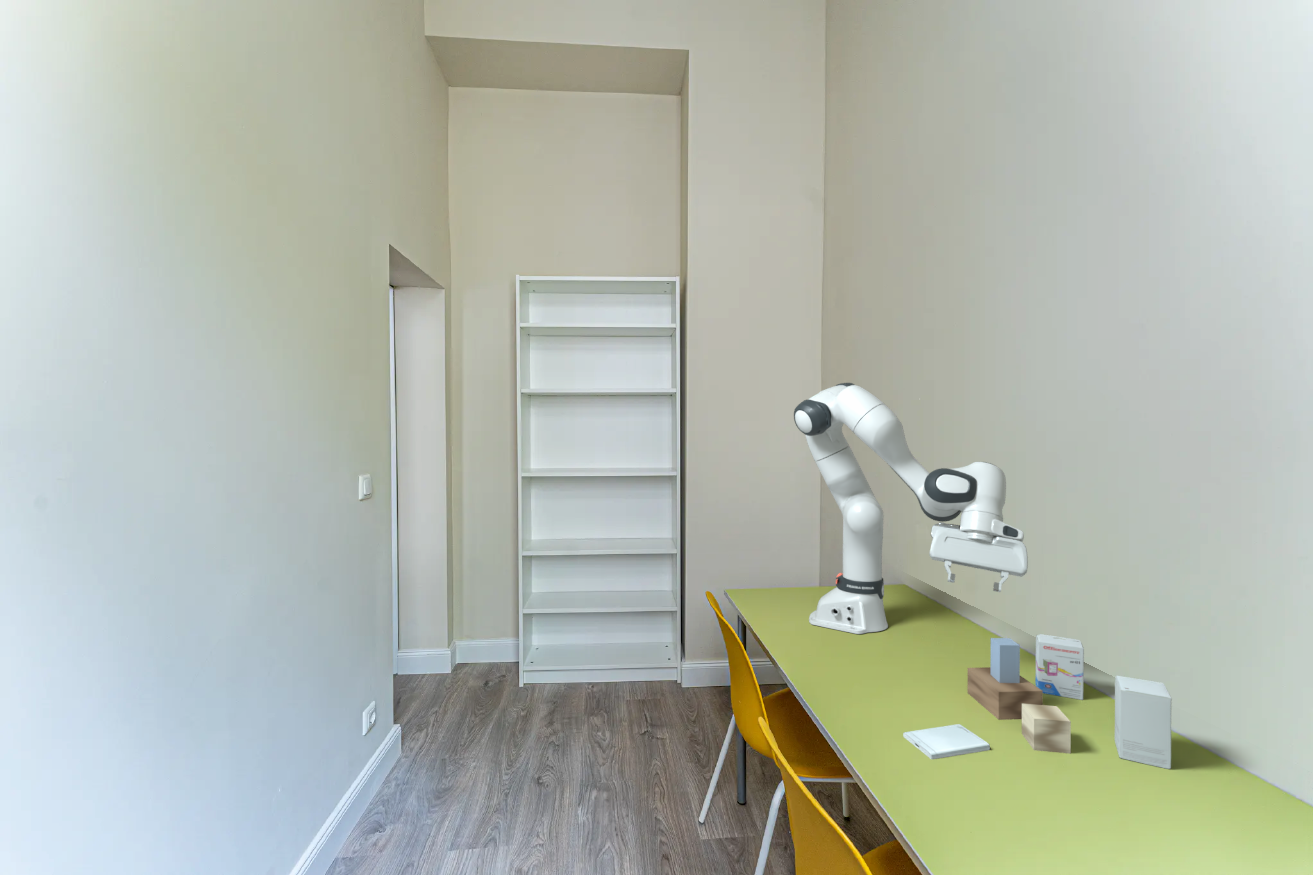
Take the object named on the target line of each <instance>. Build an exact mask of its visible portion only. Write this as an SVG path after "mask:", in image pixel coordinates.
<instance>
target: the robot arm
mask: <svg viewBox="0 0 1313 875" xmlns="http://www.w3.org/2000/svg"><path fill="white" fill-rule="evenodd" d="M793 420H794V423H795V426H796V427H797V429H798V430H799V431H800V432H801V433H803V435H804V436H805V437H804V438H805V441H806V444H807V446H808V449H809V452H810V454H811V456H812V459H813V461H814V463H815V464H816V467H817V468H818V471H819V472H820V474H821V477H822V478H823V480H824V483H825V484H826V486H827V489H828V490H829V491H830V494H831V495H832V497H833V499H834V501H835V503H836V505H837V506H838V509H839V510H840V512H841V515H842V520H843V521H842V523H843V524H842V572H839V573H838V574H837V575H836V578H835V587H834V588H833V589H831V590H830V591H828V592H827V593H825V594H824V595H822V596H820V599H819V600H818V603H817V606H816V609H815V610H814V611H812V612H811V613H810V614H809V618H808V621H809V624H810V625H813V626H818V627H822V628H827V629H830V630H831V629H832V630H837V631H841V632H847V633H850V634H856V635H863V634H867V633H875V632H880V631H881V632H882V631H884V630H886V629H888V627H889V623H888V621H887V618H886V612H885V607H884V606H885V604H884V600H883V599H884V597H885V582H884V578H883V541H884V540H883V538H884V516H885V515H884V511H883V508H882V506H881V505H880V503H879V501H878V500H877V498H876V496H875V494H874V492H873V490H872V488H871V486H870V484H869V482H868V480H867V478H866V476H865V474H864V471H863V469H862V468H861V466H860V464H859V462H858V460H857V458H856V456H855V454H854V452H853V450H852V448H851V446H850V445H849V442H848V440H847V439H846V437H845V435H844V433H843V426H844V425H845V426H847V427H848V429H849V430H850V431H851V432H852V434H855V436H856V437H857V438H858V439H860V441H862V442H863V443H864V444H865V445H866V446H867V447H868V448H869V449H871V451H873V452H874V453H875V454H876V455H877V456H878V457H880V459H882V460H883V461H884V462H885V463H886V464H887V465H888V466H889V468H891V470H892V471H893V472H894V473H895V474H896V475H897V476H898V477H899V478H900V479H901V480H902V482H904V484H906V486H907V487H908V488H909V489H910V491H912V492H913V494H914V495H915V496H916V498H917V501H918V504H919V506H920V510H921V511H922V512H923V514H925V516H926V517H927V518H929V519H931V520H933V521H936V522H939V523H935V524H933V525H932V527H931V530H930V536H931V539H932V540H931V544H930V549H929V558H930V559H931V560H933V561H938V562H943V563H944V566H943V567H944V569H945V571H946V574H947V575H948V576H947V582H949V583H955V581H956V574H955V573H952V570H951V568H952V564H953V565H958V566H963V567H967V568H968V567H969V568H974V569H980V570H984V571H989V572H995V573H1000V576H999V577H1000V578H1001V579H1000V580H999V581H998V582H995V581H994V582H993V588H992V591H993V592H997V593H1001V592H1002V585H1003V584H1005V582H1006V581H1007V580H1008V578H1009V575H1010V576H1015V577H1019V578H1021V577H1023V576H1025V575H1027V573H1028V567H1029V566H1028V565H1029V560H1028V558H1029V557H1028V549H1027V546H1026V544H1025V543H1024V542H1023V541H1024V538H1025V537H1024V536H1025V533H1024V531H1022V530H1021V529H1020V528H1017V527H1014V526H1012V525H1010V524H1008V523H1006V522H1004V515H1003V509H1004V506H1005V503H1006V496H1007V495H1006V494H1007V480H1006V475H1005V473H1004V471H1003V469H1001V468H1000V467H998V466H997V465H995V464H993V463H991V462H988V461H987V462H986V461H975V462H974V461H973V462H972V463H970V464H968V465H965V466H960V467H954V468H948V467H947V468H945V467H943V468H942V467H941V468H936V469H935V470H933V471H931V472H929V471H928V470H927V469H926V467H924V466H923V465H922V464H921V462H919V460H918V459H916V458H915V456H914V454H912V452H911V450H910V448H909V446H908V444H907V440H906V435H905V431H904V427H903V424H902V421H901V420H900V419H899V418H898V416H897V415H896V414H895V412H894V411H893V410H892V409H891V408H890V406H889V407H888V405H886V404H885V403H884V402H883V401H882V400H881V399H879V398H878V397H877V396H876V395H874V394H873V393H871V392H870V391H869V390H867V389H866V388H863V387H862V386H860V385H856V384H855V383H852V382H841V383H838V384H836V385H834V386H830V387H828V388H826V389H822V390H821V391H819V392H818V393H816V394H815V395H812V396H811V397H809V398H808V399H805V400H803V401H802V402H800V403H799V404H797V405H796V406H795V408H794V411H793ZM960 514H961V515H960ZM959 516H960V522H959V524H954V523H946V522H949V521H952V520H954V519H956V518H958V517H959Z"/></svg>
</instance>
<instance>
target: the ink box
mask: <svg viewBox="0 0 1313 875" xmlns="http://www.w3.org/2000/svg"><path fill="white" fill-rule="evenodd" d="M1084 663H1085V647H1084V646H1083V643H1082V641H1081V640H1080V639H1075V638H1068V637H1063V636H1056V635H1050V634H1049V635H1048V634H1043V633H1042V634H1041V633H1039V634H1036V635H1035V686H1036V687H1038V688H1039V689H1041V690H1042V691H1043V694H1046V695H1051V696H1058V697H1063V698H1069V699H1075V700H1080V701H1083V700H1084V680H1085V679H1084V678H1085V677H1084V675H1085V674H1084V672H1085V671H1084V670H1085V669H1084V667H1085V664H1084Z"/></svg>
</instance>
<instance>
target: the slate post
mask: <svg viewBox="0 0 1313 875" xmlns="http://www.w3.org/2000/svg"><path fill="white" fill-rule="evenodd" d="M1020 648H1021V646H1020V644H1019V643H1017V642H1016V641H1014V640H1013V639H1012V638H1010V637H990V667H991V675H992V676H993V677H994V678H995V679H996V680H997V681H998V682H999V683H1020V676H1021V675H1020V672H1021V671H1020V670H1021V667H1020V666H1021V665H1020V662H1021V657H1020V656H1021V654H1020V653H1021V649H1020Z"/></svg>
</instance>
